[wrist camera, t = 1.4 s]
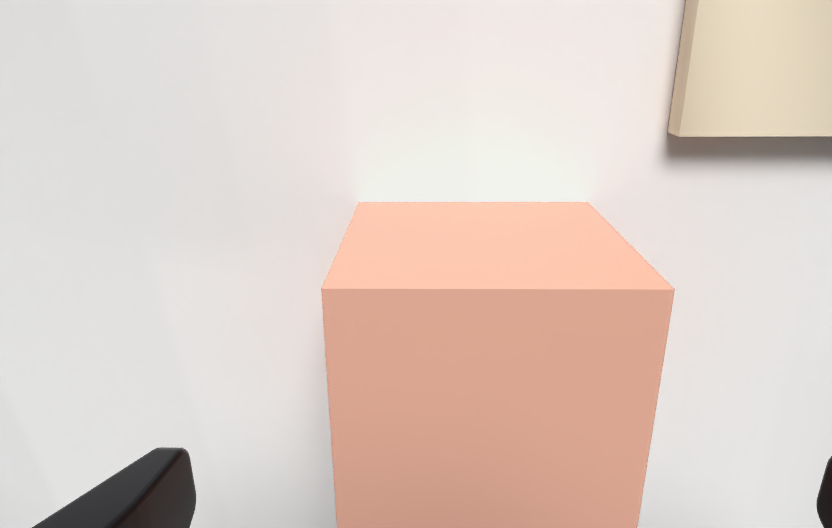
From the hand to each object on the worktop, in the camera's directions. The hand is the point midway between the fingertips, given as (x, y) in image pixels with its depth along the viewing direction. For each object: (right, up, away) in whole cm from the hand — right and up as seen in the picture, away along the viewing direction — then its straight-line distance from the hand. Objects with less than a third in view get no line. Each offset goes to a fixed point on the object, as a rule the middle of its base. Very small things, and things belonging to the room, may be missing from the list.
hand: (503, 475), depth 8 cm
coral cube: (0, +2, +6) cm, 6 cm away
